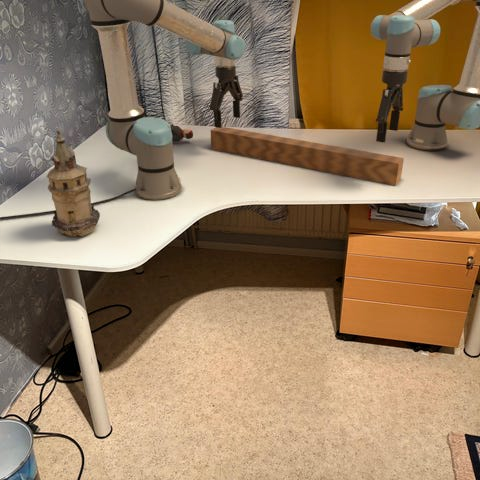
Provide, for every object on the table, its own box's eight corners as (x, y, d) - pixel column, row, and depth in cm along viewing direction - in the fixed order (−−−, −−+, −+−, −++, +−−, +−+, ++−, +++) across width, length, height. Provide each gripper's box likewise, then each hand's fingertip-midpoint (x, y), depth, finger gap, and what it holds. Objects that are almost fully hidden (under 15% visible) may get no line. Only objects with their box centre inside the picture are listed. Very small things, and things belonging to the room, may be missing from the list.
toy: (134, 117, 234) (200, 117, 228) (136, 131, 237) (202, 131, 231) (110, 136, 212) (182, 136, 205) (113, 151, 215) (184, 152, 208)
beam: (211, 149, 213) (210, 130, 209) (219, 144, 217) (218, 126, 213) (395, 185, 180) (398, 163, 176) (400, 179, 184) (403, 157, 180)
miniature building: (80, 214, 164) (63, 117, 149) (111, 225, 157) (96, 125, 142) (44, 231, 154) (22, 130, 140) (75, 244, 147) (55, 139, 133)
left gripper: (215, 74, 186) (218, 133, 196) (251, 59, 204) (252, 114, 215) (197, 72, 189) (201, 130, 200) (234, 58, 207) (235, 112, 218)
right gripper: (395, 79, 155) (386, 149, 166) (418, 63, 174) (409, 127, 184) (370, 76, 159) (363, 145, 169) (395, 61, 177) (387, 124, 188)
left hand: (227, 122), depth 207 cm, fingers open, 13 cm apart
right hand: (387, 135), depth 177 cm, fingers open, 13 cm apart
